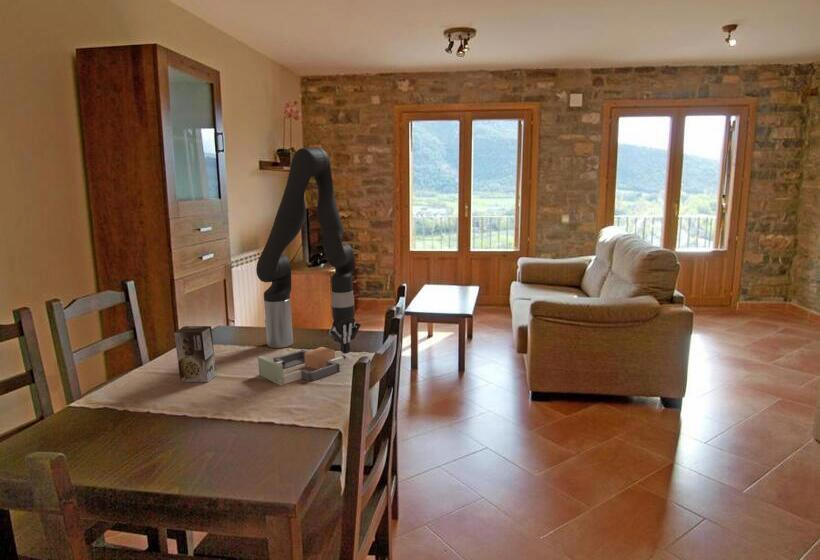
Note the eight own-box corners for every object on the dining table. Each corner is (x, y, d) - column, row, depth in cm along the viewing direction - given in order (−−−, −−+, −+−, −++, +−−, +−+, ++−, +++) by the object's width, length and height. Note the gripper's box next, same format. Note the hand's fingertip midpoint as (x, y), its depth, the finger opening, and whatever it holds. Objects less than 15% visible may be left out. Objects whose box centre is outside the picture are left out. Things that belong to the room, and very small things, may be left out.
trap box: (253, 371, 170) (251, 354, 168) (315, 353, 186) (314, 336, 185) (287, 389, 155) (286, 369, 154) (351, 367, 171) (350, 349, 170)
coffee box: (217, 374, 168) (212, 325, 165) (207, 382, 162) (202, 331, 158) (189, 374, 169) (184, 325, 166) (179, 382, 163) (173, 331, 159)
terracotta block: (305, 366, 174) (304, 353, 173) (322, 359, 180) (321, 346, 179) (318, 370, 170) (317, 356, 169) (335, 362, 177) (334, 349, 176)
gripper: (351, 298, 186) (353, 345, 189) (320, 305, 177) (323, 355, 180) (365, 301, 181) (367, 350, 184) (333, 309, 171) (336, 360, 175)
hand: (345, 352), depth 182 cm, fingers closed
